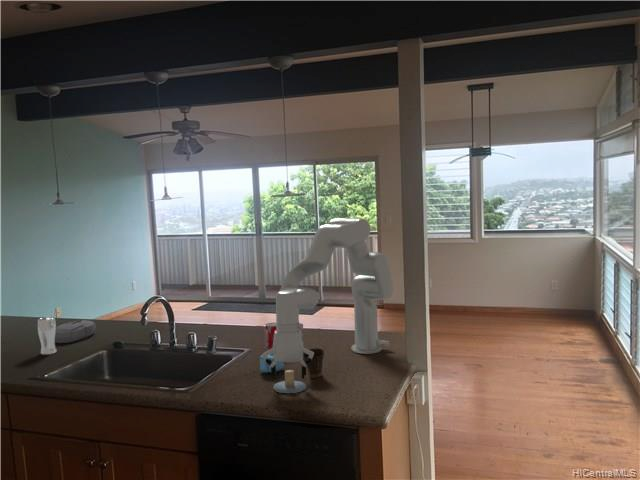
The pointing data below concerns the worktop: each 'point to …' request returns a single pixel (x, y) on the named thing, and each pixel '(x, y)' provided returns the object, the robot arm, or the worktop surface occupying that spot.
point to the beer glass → (47, 335)
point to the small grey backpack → (74, 331)
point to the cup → (315, 363)
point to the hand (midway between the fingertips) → (288, 377)
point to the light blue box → (266, 367)
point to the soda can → (269, 335)
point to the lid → (289, 384)
